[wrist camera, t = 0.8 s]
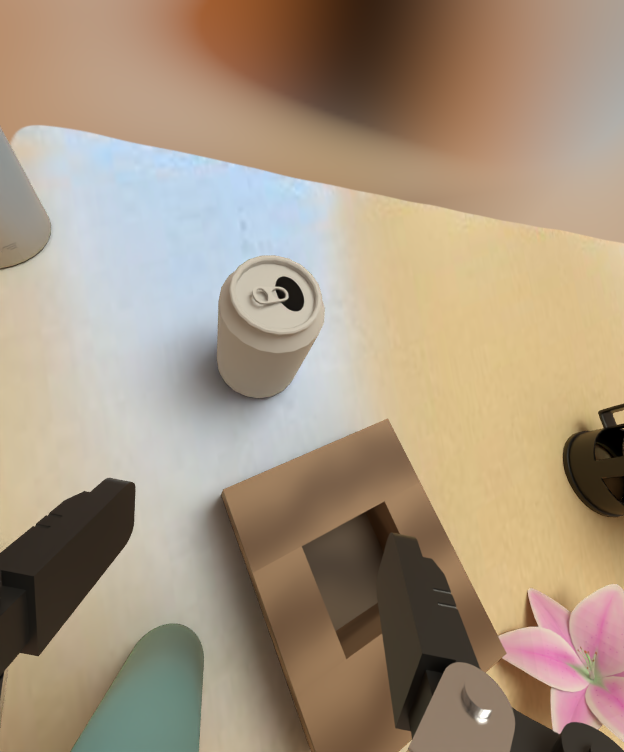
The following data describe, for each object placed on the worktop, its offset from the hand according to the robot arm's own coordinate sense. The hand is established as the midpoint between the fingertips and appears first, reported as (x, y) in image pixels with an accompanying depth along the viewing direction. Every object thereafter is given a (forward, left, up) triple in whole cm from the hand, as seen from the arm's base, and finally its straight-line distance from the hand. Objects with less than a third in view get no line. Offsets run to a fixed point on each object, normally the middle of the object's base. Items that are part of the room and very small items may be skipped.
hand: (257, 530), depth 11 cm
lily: (+21, +21, -19) cm, 35 cm away
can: (-12, +7, -19) cm, 24 cm away
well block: (+7, +7, -19) cm, 21 cm away
